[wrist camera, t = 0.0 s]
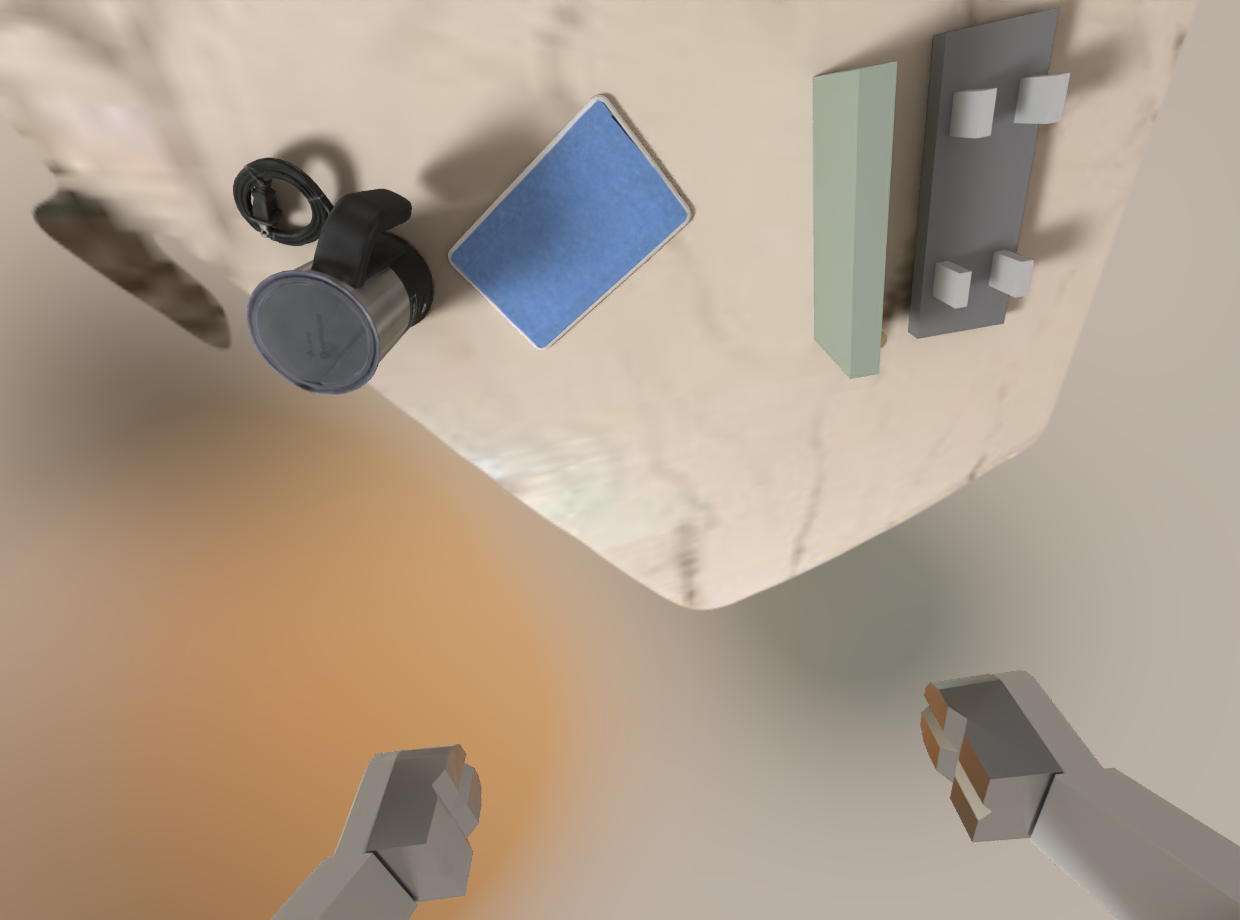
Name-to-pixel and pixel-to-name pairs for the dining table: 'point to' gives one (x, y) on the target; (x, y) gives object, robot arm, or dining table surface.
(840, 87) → the cabinet door
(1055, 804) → the robot arm
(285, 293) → the milk frother
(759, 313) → the dining table surface
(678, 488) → the dining table surface
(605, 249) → the tablet computer
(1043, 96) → the hinge base
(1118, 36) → the dining table surface
